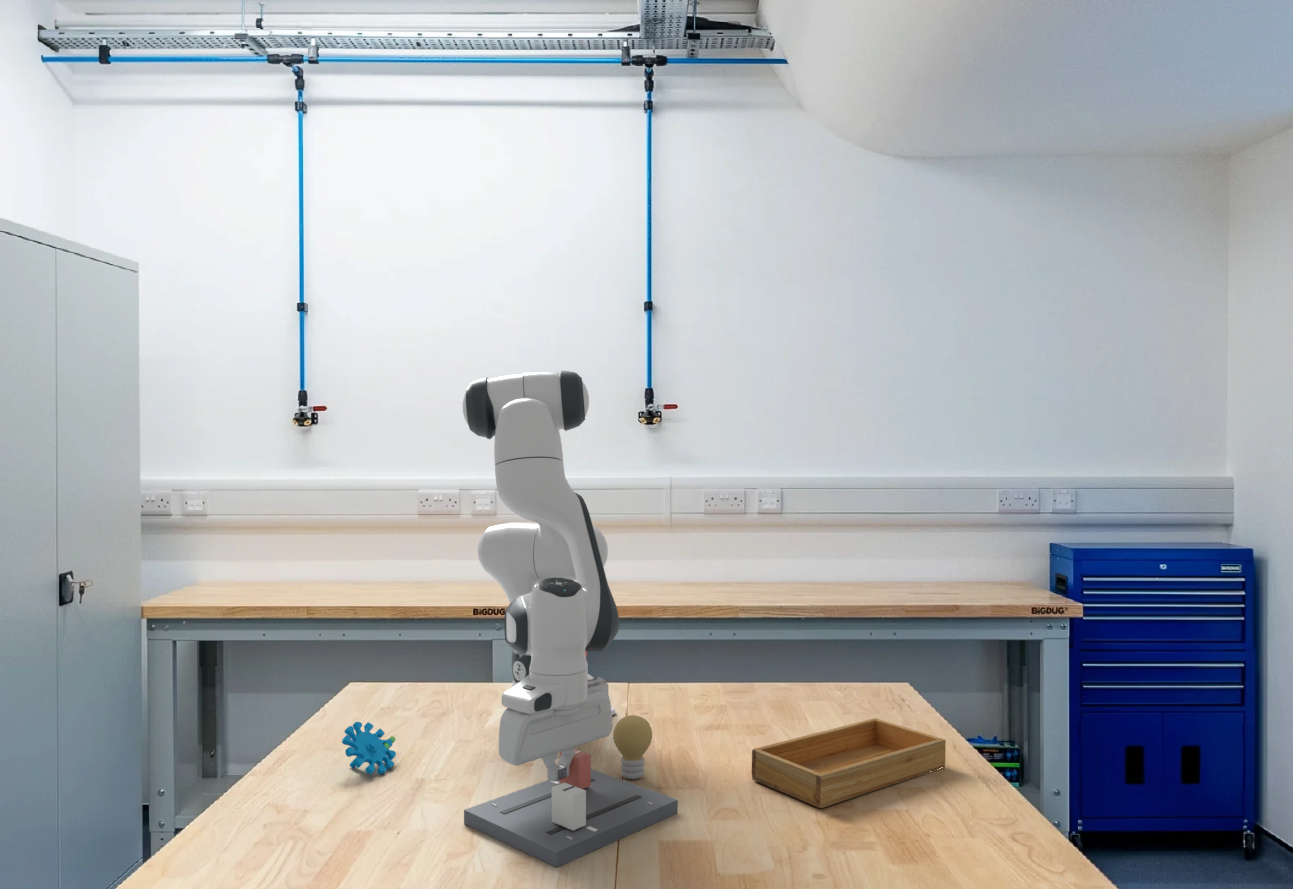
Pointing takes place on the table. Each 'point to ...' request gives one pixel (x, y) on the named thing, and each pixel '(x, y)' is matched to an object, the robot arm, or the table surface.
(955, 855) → the table surface
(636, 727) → the light bulb
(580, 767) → the red fader
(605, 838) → the console
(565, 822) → the grey fader
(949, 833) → the table surface
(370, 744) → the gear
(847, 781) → the tray
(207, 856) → the table surface
